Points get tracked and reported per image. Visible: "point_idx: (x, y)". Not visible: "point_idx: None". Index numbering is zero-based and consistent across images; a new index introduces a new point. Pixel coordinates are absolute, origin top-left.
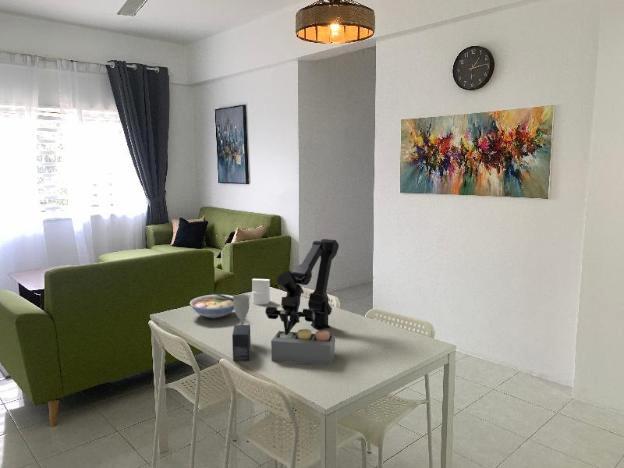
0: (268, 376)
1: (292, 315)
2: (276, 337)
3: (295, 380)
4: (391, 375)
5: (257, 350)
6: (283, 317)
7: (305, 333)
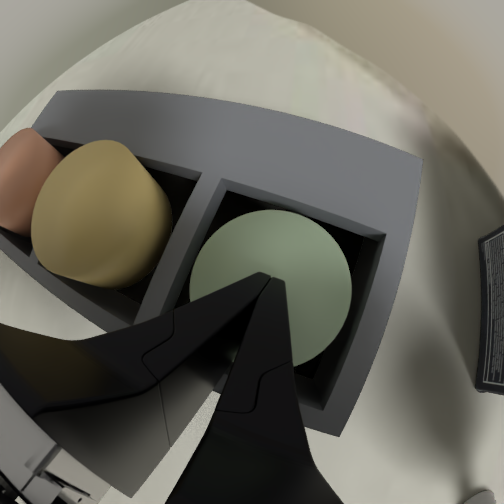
0: (371, 80)
1: (10, 354)
2: (384, 240)
3: (268, 49)
4: (24, 107)
5: (446, 383)
6: (292, 476)
7: (89, 152)
